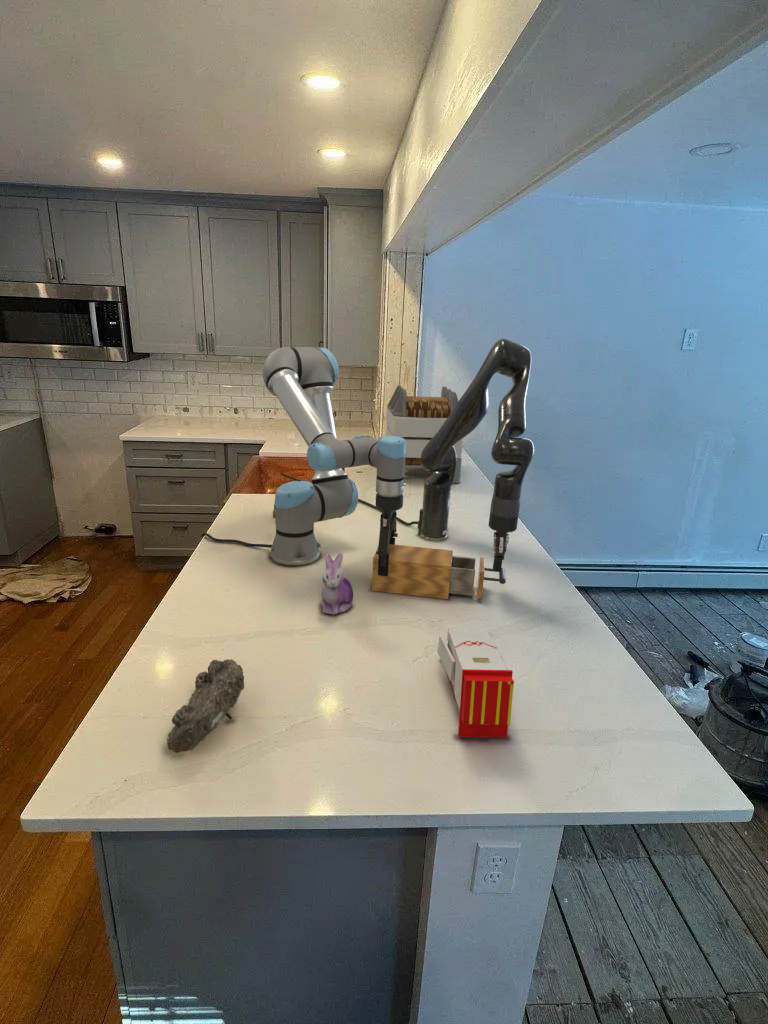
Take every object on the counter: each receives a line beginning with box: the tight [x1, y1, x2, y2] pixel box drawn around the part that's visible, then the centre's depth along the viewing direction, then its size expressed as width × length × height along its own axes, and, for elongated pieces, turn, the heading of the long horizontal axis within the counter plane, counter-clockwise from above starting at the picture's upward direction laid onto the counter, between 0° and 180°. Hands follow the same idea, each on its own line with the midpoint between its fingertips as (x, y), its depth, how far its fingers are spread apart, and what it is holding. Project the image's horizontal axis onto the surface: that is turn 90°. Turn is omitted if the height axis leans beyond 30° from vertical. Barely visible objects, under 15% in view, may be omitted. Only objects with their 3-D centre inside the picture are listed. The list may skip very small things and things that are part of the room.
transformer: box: [385, 384, 464, 484], centre depth 268 cm, size 34×33×41 cm
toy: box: [437, 628, 515, 738], centre depth 117 cm, size 12×13×30 cm
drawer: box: [449, 555, 507, 600], centre depth 159 cm, size 26×10×8 cm, turn 81°
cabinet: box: [371, 544, 454, 600], centre depth 161 cm, size 21×11×10 cm, turn 81°
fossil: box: [166, 658, 245, 754], centre depth 106 cm, size 22×10×15 cm
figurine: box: [321, 552, 354, 615], centre depth 147 cm, size 9×10×15 cm
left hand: (386, 566), depth 162 cm, fingers closed on cabinet, 11 cm apart
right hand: (496, 570), depth 157 cm, fingers closed
